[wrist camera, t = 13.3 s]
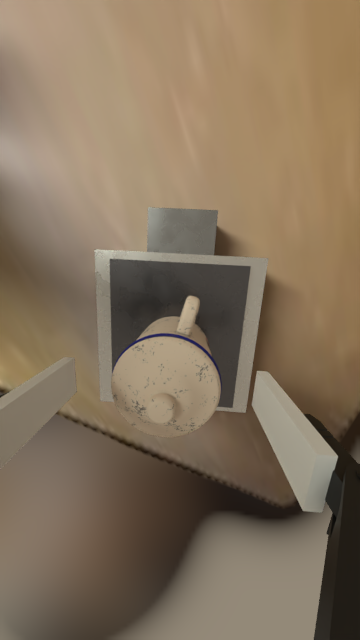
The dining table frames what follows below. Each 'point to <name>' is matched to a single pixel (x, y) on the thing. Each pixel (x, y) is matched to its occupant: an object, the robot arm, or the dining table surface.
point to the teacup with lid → (168, 377)
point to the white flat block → (181, 296)
